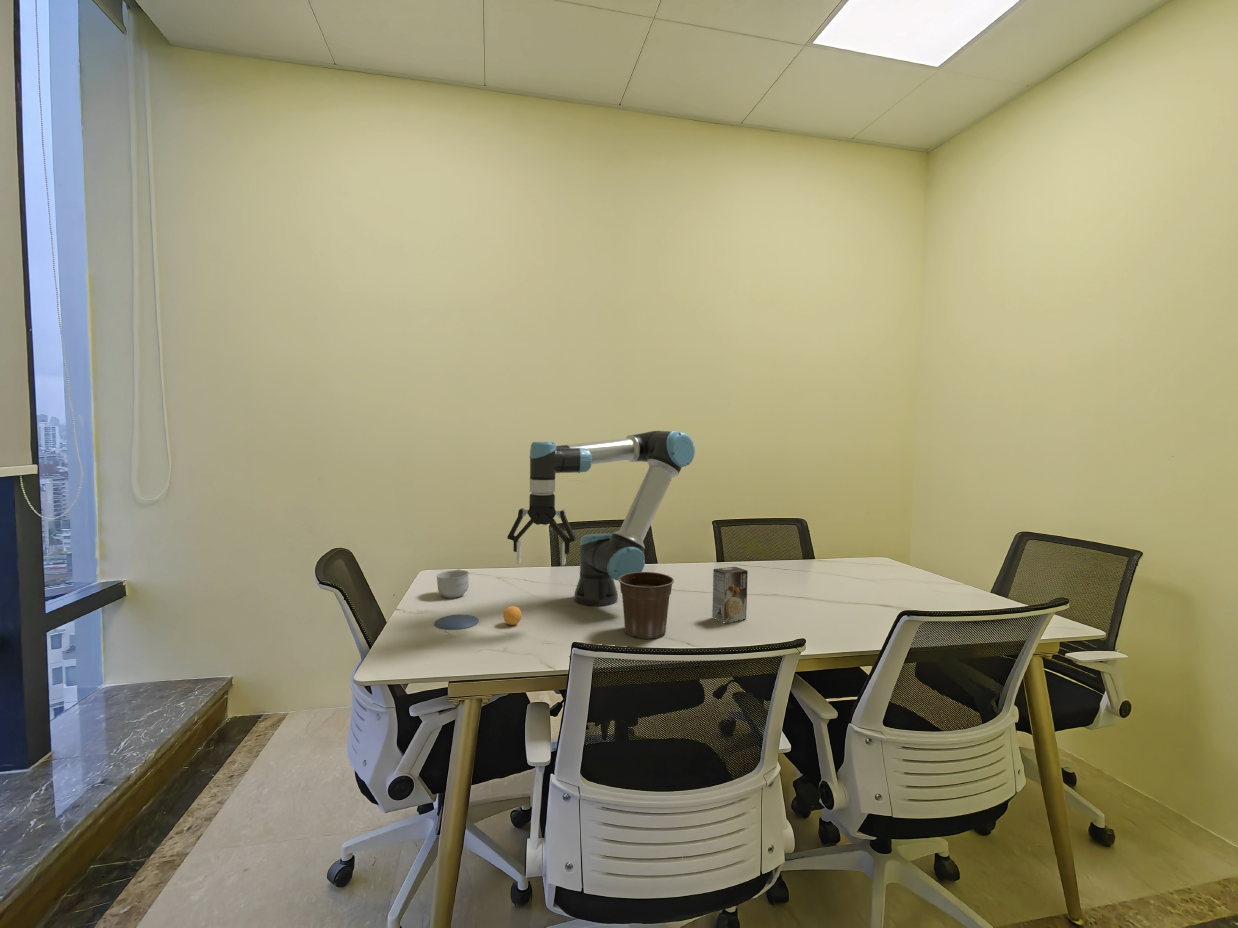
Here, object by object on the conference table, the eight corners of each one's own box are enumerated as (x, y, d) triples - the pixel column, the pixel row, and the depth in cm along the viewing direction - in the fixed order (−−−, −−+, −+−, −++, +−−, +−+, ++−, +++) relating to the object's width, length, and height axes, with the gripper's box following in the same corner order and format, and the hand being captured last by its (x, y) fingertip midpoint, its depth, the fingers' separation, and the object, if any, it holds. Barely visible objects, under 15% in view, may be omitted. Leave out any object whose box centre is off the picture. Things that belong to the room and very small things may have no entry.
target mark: (484, 615, 181) (484, 615, 181) (471, 630, 169) (471, 629, 168) (443, 614, 182) (443, 613, 182) (427, 628, 169) (427, 628, 169)
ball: (523, 621, 177) (523, 604, 177) (519, 627, 172) (519, 609, 171) (505, 620, 177) (505, 603, 177) (501, 627, 172) (501, 609, 172)
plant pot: (631, 645, 160) (632, 588, 159) (608, 626, 175) (610, 574, 174) (682, 638, 167) (683, 583, 166) (656, 620, 181) (658, 569, 180)
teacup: (459, 601, 196) (459, 578, 195) (430, 598, 198) (430, 575, 197) (477, 590, 209) (477, 568, 209) (450, 587, 212) (450, 566, 211)
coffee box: (734, 613, 190) (735, 565, 188) (746, 619, 184) (748, 570, 183) (711, 617, 185) (713, 568, 184) (723, 623, 180) (725, 573, 179)
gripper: (585, 493, 175) (583, 562, 176) (504, 490, 176) (503, 559, 178) (582, 496, 167) (580, 568, 169) (497, 493, 169) (496, 564, 170)
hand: (541, 563), depth 173 cm, fingers open, 13 cm apart
